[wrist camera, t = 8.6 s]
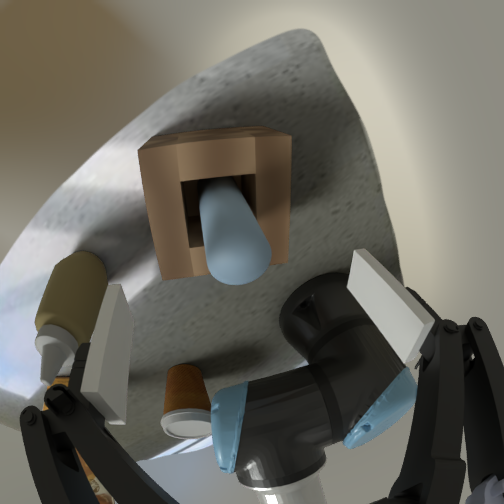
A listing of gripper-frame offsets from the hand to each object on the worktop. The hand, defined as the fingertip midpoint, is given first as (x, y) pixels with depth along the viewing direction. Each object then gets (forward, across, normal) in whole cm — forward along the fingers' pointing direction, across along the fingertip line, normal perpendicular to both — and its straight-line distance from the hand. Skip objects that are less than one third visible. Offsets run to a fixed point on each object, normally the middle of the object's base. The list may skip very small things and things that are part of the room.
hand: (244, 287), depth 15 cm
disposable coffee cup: (+19, +9, +33) cm, 40 cm away
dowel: (+16, 0, -1) cm, 17 cm away
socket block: (+19, 0, -1) cm, 19 cm away
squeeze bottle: (+19, +18, +8) cm, 27 cm away
